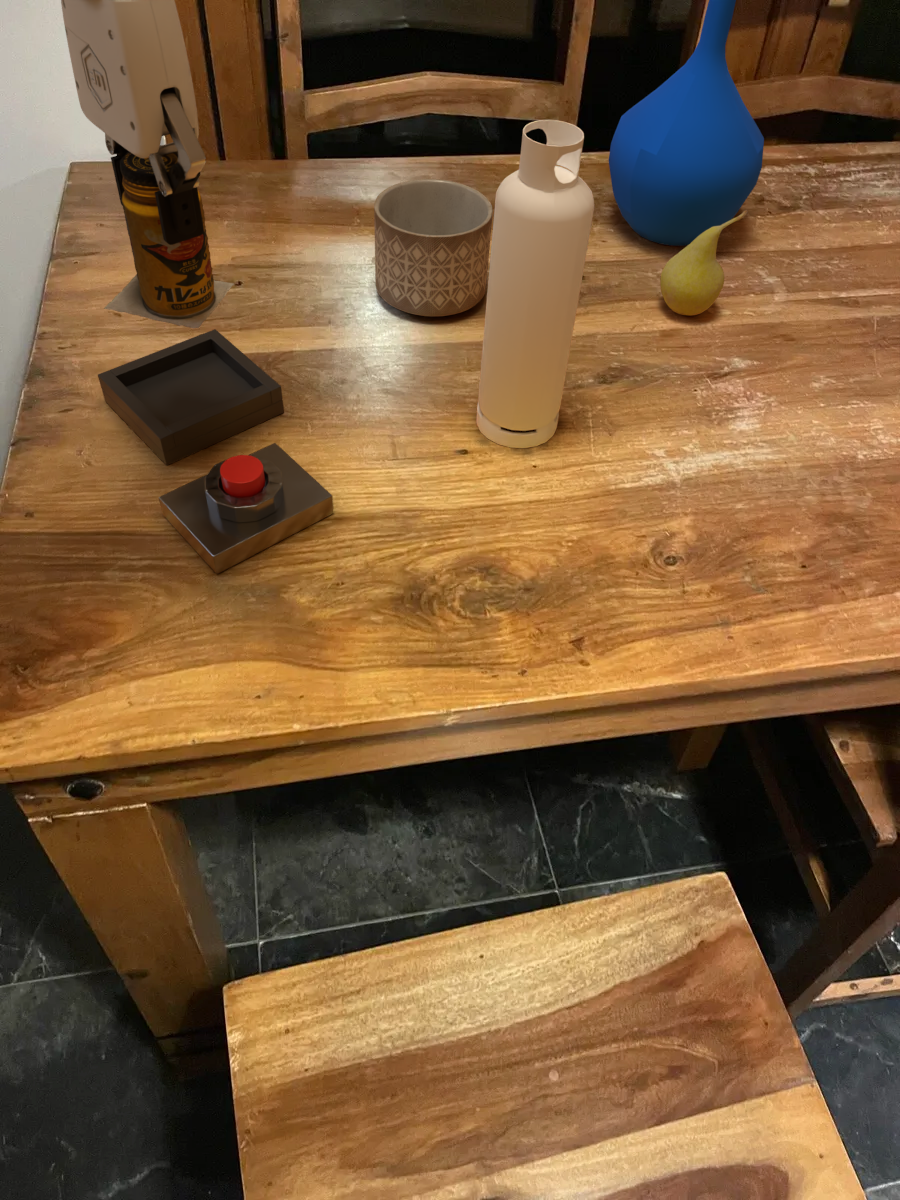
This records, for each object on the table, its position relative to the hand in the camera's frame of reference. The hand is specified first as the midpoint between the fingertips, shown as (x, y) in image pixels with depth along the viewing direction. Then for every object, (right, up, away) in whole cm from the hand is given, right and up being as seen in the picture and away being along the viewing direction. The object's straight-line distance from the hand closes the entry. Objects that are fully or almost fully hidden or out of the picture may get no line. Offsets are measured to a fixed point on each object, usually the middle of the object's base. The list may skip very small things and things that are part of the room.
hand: (162, 218), depth 74 cm
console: (+5, -23, +9) cm, 25 cm away
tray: (-2, -11, +19) cm, 22 cm away
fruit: (+50, +3, +35) cm, 61 cm away
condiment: (-1, -5, +6) cm, 8 cm away
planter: (+20, +5, +34) cm, 40 cm away
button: (+5, -20, +7) cm, 22 cm away
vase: (+51, +18, +47) cm, 72 cm away
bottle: (+29, -12, +20) cm, 37 cm away
